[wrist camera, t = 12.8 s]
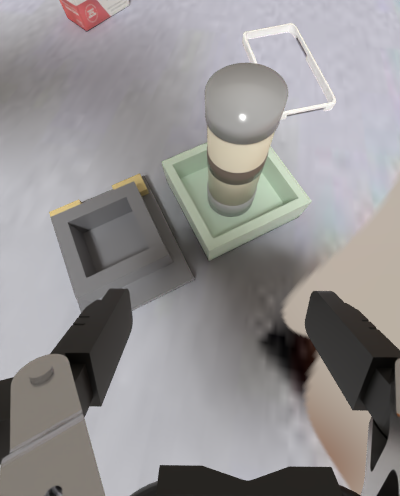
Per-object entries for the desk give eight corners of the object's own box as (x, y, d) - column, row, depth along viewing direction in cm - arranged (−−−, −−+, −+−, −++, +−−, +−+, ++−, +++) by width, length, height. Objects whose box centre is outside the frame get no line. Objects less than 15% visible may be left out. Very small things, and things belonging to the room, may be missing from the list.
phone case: (240, 43, 32) (273, 124, 27) (241, 31, 31) (276, 114, 26) (291, 33, 32) (332, 112, 28) (294, 21, 31) (338, 102, 26)
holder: (57, 220, 24) (32, 203, 20) (146, 181, 25) (136, 159, 22) (92, 330, 20) (69, 331, 17) (194, 279, 21) (192, 271, 18)
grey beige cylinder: (200, 187, 24) (191, 79, 13) (239, 170, 24) (261, 53, 14) (220, 224, 22) (228, 135, 12) (261, 205, 23) (304, 103, 12)
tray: (166, 181, 25) (161, 161, 22) (247, 145, 26) (252, 122, 23) (209, 261, 22) (209, 251, 19) (298, 217, 23) (311, 201, 20)
